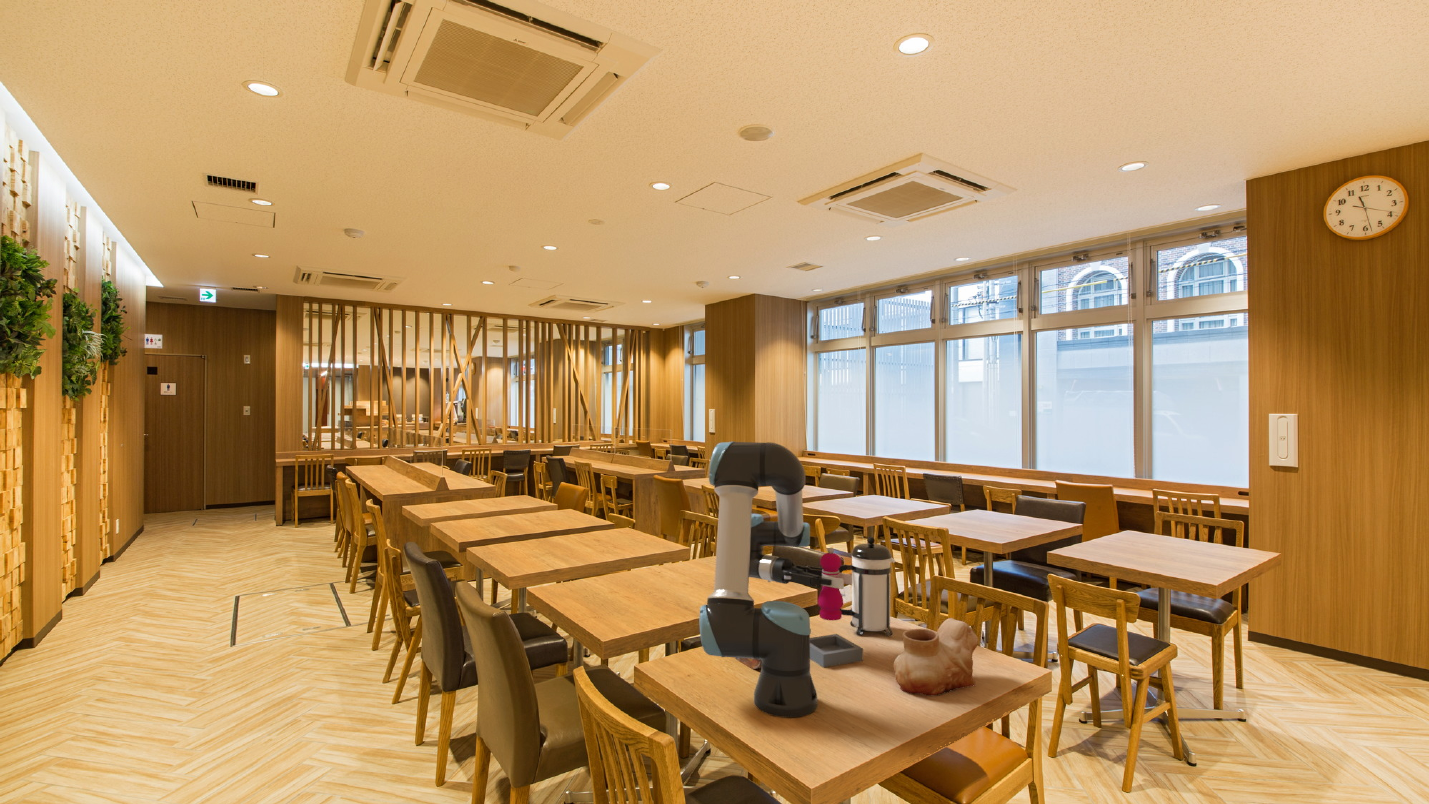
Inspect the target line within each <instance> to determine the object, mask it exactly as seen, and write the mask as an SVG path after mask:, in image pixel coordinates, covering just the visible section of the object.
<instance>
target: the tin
mask: <svg viewBox="0 0 1429 804" xmlns="http://www.w3.org/2000/svg"><path fill="white" fill-rule="evenodd" d="M735 659H736V660H737V662H740V663H742V664H744V665H746V666H747V667H748V666H749V667H748V668H751V670H756V669H761V668H762V660H761V659H750V658H735Z"/></svg>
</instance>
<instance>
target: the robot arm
mask: <svg viewBox="0 0 1429 804" xmlns="http://www.w3.org/2000/svg"><path fill="white" fill-rule="evenodd" d="M712 450H713V451H712V454H711V457H710V463H709V469H708V471H709V473H708V481H709V484H710V485H711V486H712V487H713V486H714V488H713V489H714V493H715V494H716V495H717V496H718V498H719V503H718V504H719V505H718V519H717V520H718V521H717V533H716V534H717V537H716V538H717V539H716V550H715V551H716V552H715V566H714V567H715V569H714V586H713V587H714V589H713V592H711V593H710V595H708V596H707V602H706V604H704V605H701V606H700V609H699V618H698V620H699V634H700V642H701V647H702V650H703V651H704V652H705V654H707V655H708V656H713V657H721V658H735V659H736V658H750V659H761V660H762V668H760V669H761V670H760V674H759V676H758V679H757V683H756V686H755V689H754V692H753V696H754V697H753V703H754V706H755V707H756V708H757V709H758V710H760V711H761V712H763V713H764V714H767V715H770V716H773V717H774V716H775V717H781V718H798V717H804V716H807V715H810V714H811V713H814V711H816V709H817V708H818V693H817V691H816V688H815V687H816V686H815V683H814V681H813V678H812V674H811V659H810V638H811V634H812V633H811V632H812V629H811V623H810V622H811V621H810V620H811V619H810V615H809V613H808V612H807V610H806V609H804V608H803V607H801V606H799V605H797V604H794V603H792V602H788V601H782V600H781V601H780V600H773V601H772V600H767V601H765V602H762V605H761V607H759V608H757V607H754V606H755V600H754V599H753V597H752V596H751V595H750V593H749V587H750V586H749V584H750V583H749V582H750V578H754V579H759V580H766V581H767V583H771V582H775V583H779V584H784V585H786V584H789V583H795V584H800V585H805V586H810V587H817V588H818V589H822V587H823V586H828V587H833V588H839V590H844V589H845V586H844V585H845V584H846V585H850V586H852V574H849V573H845V572H844V573H843V572H841V573H839V576H838V578H835V577H830V576H824V575H822V569H823V568H822V566H821V567H820V566H813V565H810V564H807V563H806V564H804V566H803V565H801V564H795V565H794V563H793V561H792V559H791V558H787V557H783V556H782V557H781V556H775V555H771V554H770V555H769V554H764V552H763V551H764V546H766V547H767V546H768V547H792V548H793V547H794V548H807V547H809V546H810V544H811V543H810V542H811V525H810V523H808V522H804V506H803V505H804V502H803V489H804V488H805V485H806V472H805V468H804V465H803V464H802V462H801V461H800V460H799V458H798V457H797V455H795V454H794V452H792V451H791V450H790V449H789V448H787V447H786V446H783V445H782V444H778V443H775V442H770V441H769V442H756V441H755V442H751V441H750V442H749V441H728V442H727V441H726V442H724V441H723V442H719V443H717V444H716V445H715V446H714V449H712ZM759 487H771V488H772V489H773V491H774V494H775V504H776V505H775V506H776V512H777V513H776V514H777V515H776V516H777V520H776V521H774V520H773V521H769V520H764V516H763V515H762V514H760V513H752V510H753V499H754V498H755V497H756V496H757V495H758V494H759Z"/></svg>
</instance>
